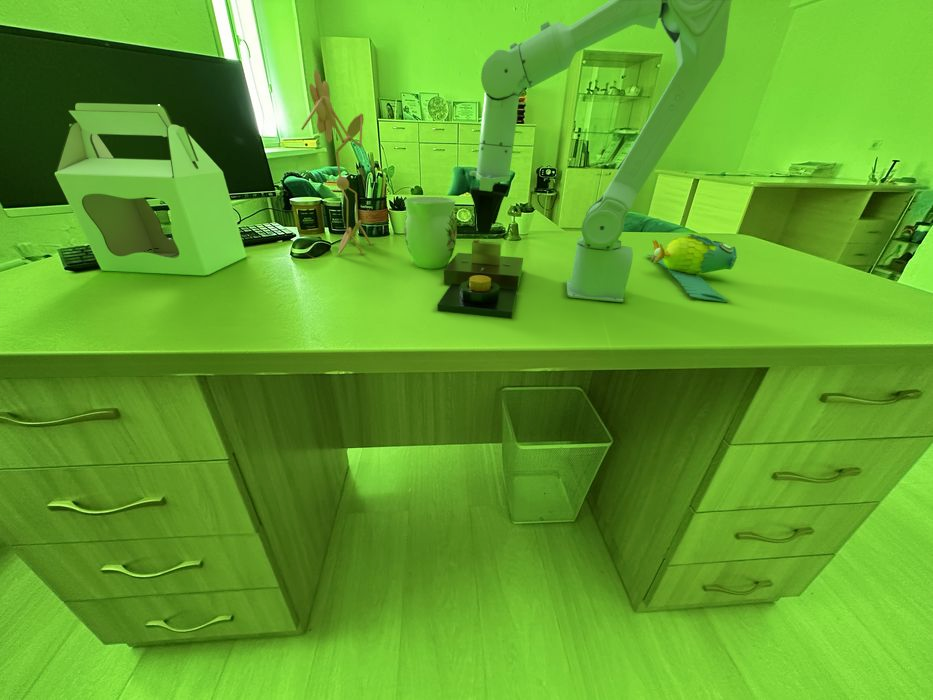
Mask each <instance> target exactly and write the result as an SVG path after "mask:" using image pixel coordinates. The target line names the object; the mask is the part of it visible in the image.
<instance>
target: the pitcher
mask: <svg viewBox="0 0 933 700" xmlns="http://www.w3.org/2000/svg"><path fill="white" fill-rule="evenodd" d="M403 201H404V205H405V210H406V216H405V221H404V228H403V229H404V240H405V245H406V247H407V250H408V254H409V256H410V257H411V260H412V261H413V262H414V263H415V264H416V267H419V268H422V269H428V270H429V269H430V270H431V269H433V270H434V269H441V268H445V267H447V265H448V264H449V263H450V261H451V259H452V257H453V254H454V251H455V248H456V243H457V234H458V232H457V231H458V230H457V229H458V228H457V222H456V219H455V216H454V212H455V211H454V210H455V205H456V200H455V199H453V198H450V197H442V196H441V197H440V196H416V197H414V196H413V197H408V198H405V199H404V200H403Z"/></svg>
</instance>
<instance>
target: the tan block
mask: <svg viewBox="0 0 933 700" xmlns="http://www.w3.org/2000/svg"><path fill="white" fill-rule="evenodd" d="M471 254H472V259H471V263H477V264H489V265H499V264H500V257H501V256H502V242H497V241H485V240H480V239H474V240H473V241H472V242H471Z"/></svg>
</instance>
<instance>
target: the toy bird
mask: <svg viewBox="0 0 933 700" xmlns="http://www.w3.org/2000/svg"><path fill="white" fill-rule="evenodd" d="M652 244H653V250H654V251H653V254H649V253H648V254H646V255H647V256H648V257H649V258H650V261H652V260H654V261H653V264H655V263H658V264H660V265H661V266H662V267H664V268H665V269H667V271H668V272H669V273H670V274H671V275H672V277H673V278H675V279H676V280H677V281H678V283H679V284H681V286H682V287H683V289H684V290H685V292H686V294H688V295H689V296H690V297H691V298H694V299H699V300H705V301H707V302H722V303H728V299H726V298H725V296H723V295H722V294H720V293H719V292H717V291H716V290H715V289H714V288H713V287H712V286H710V284H709V283H708V282H707V281H705V279H703V278H702V277H701V276H700V274H706V273H711V272H712V273H713V272H717V271H722V270H732V269H733V267H734V266H735V263H736V261H737V258H738V254H737V248H736V246H730V245H729V244H726V243H724V242H722V241H717V240H712V239H710V238H708V237H706V236H704V235H698V234H697V235H695V234H692V233H687V236H682V237H676V238H674V239H672V240H671V241H670V242H669V243H667V245H666V246H665V248H664V247H663V246H664V245H662V244H661V243H659V242H658V241H657V240H656V239H654V240H652Z"/></svg>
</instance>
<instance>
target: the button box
mask: <svg viewBox="0 0 933 700" xmlns="http://www.w3.org/2000/svg"><path fill="white" fill-rule="evenodd" d="M517 295H518V291H517V289H506V288H500V286H499V285H497V284H496V283H494V282H491V289H490V290H487V291H475V290H471V289H469V281H466V282H463V283H462V284H451V285H449V287H448V288H447V289H446V291H445V293H444V294H443V295H442V297H441V299H440V300H439V301H438V302H437V312H444V313H445V312H446V313H453V314H464V315H472V316H473V315H474V316H483V317H493V318H502V319H512V318H513V313H514V310H515V304H516V302H517V301H516V299H517Z"/></svg>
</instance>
